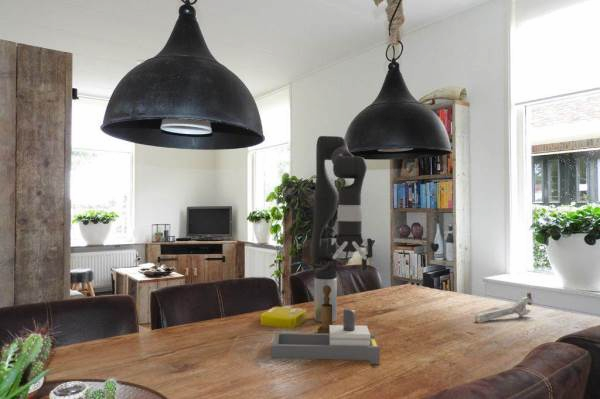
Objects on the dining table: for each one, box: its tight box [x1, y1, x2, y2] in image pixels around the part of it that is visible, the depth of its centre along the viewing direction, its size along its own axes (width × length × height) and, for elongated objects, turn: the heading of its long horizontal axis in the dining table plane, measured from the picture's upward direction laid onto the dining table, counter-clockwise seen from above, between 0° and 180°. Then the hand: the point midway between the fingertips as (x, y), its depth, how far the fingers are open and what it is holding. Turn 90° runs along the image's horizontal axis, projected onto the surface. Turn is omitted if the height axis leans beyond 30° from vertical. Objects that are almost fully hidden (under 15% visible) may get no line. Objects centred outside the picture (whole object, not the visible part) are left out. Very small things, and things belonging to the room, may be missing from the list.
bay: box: [271, 332, 381, 365], centre depth 129 cm, size 12×32×5 cm, turn 88°
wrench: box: [474, 296, 534, 323], centre depth 173 cm, size 8×2×30 cm
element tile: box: [260, 306, 307, 329], centre depth 167 cm, size 15×15×5 cm
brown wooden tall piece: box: [317, 286, 333, 334], centre depth 150 cm, size 7×6×18 cm
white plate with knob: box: [329, 308, 371, 346], centre depth 129 cm, size 9×12×13 cm
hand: (349, 271), depth 130 cm, fingers open, 8 cm apart
